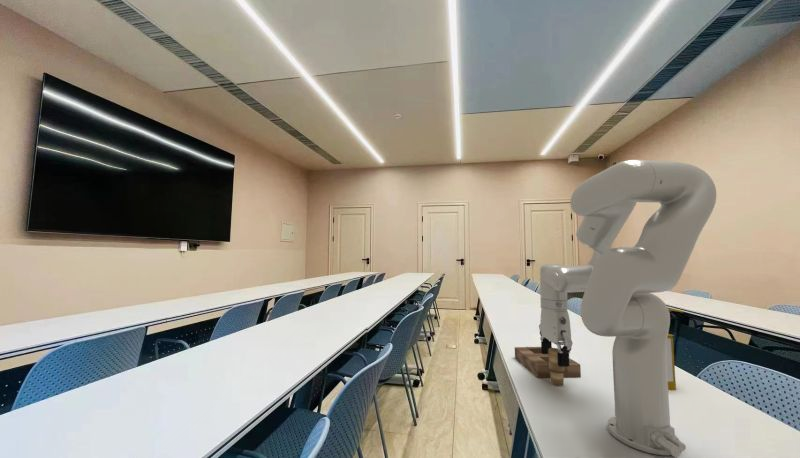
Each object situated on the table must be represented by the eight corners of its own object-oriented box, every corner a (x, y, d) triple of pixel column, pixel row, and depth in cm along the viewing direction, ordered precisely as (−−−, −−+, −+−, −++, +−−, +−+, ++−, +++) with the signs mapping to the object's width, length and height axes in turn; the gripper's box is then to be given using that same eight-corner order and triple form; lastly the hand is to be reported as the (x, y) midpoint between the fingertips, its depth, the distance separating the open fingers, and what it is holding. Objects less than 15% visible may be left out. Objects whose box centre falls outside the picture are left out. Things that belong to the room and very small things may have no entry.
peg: (568, 386, 91) (566, 352, 92) (553, 386, 91) (552, 352, 92) (560, 380, 96) (558, 347, 96) (546, 380, 95) (545, 347, 96)
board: (580, 377, 98) (580, 364, 98) (537, 378, 97) (537, 365, 97) (551, 357, 116) (550, 346, 116) (514, 358, 115) (514, 347, 115)
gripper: (582, 310, 87) (584, 371, 86) (550, 298, 104) (551, 349, 103) (557, 310, 86) (558, 371, 86) (529, 298, 104) (529, 349, 103)
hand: (554, 359), depth 95 cm, fingers open, 9 cm apart
